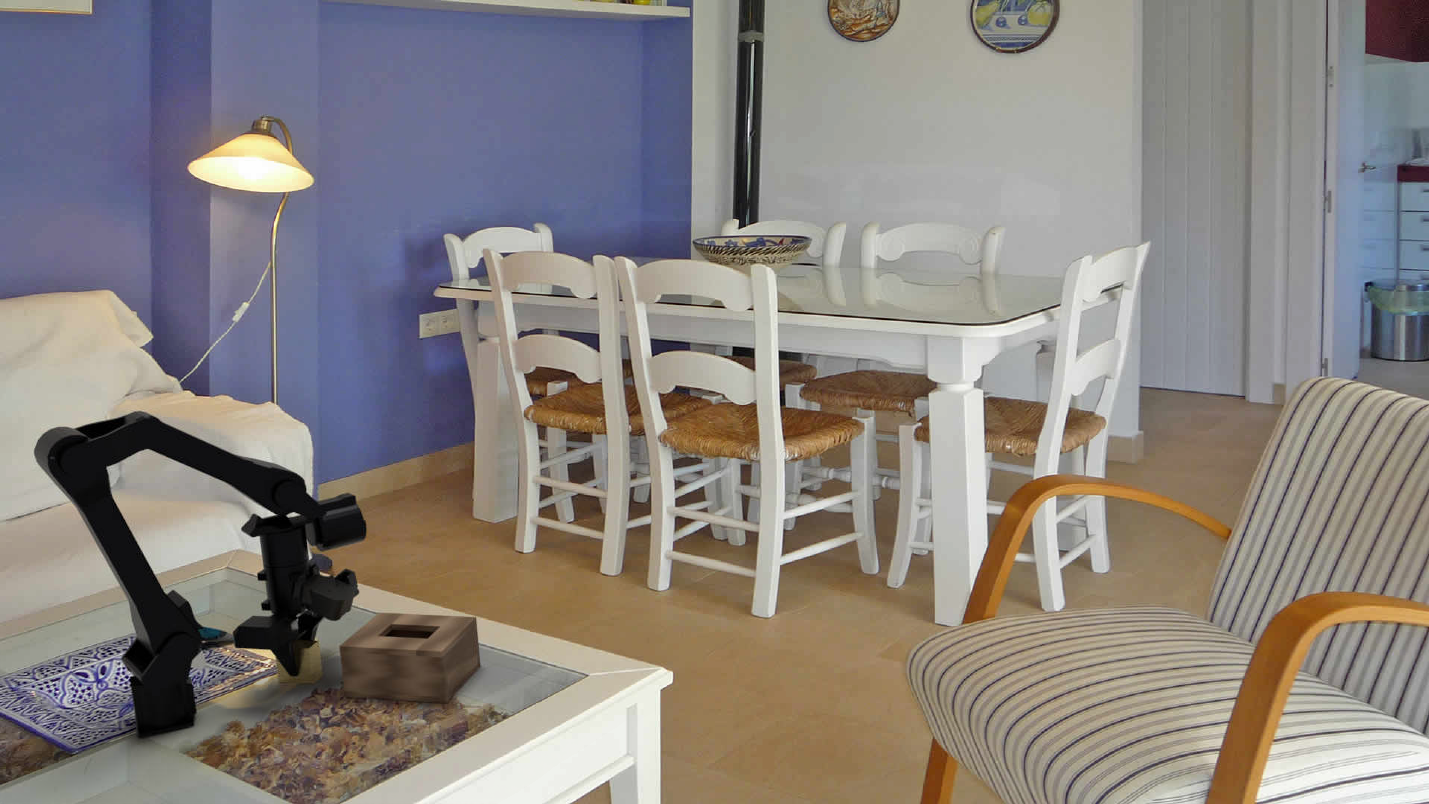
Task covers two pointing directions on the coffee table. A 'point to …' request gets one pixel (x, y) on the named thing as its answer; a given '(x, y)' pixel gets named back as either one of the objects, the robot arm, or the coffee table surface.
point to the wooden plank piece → (304, 664)
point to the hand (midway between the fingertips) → (299, 671)
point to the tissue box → (410, 657)
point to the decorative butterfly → (209, 636)
